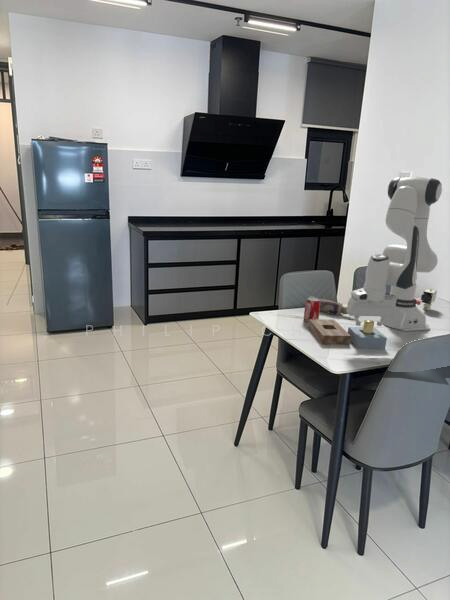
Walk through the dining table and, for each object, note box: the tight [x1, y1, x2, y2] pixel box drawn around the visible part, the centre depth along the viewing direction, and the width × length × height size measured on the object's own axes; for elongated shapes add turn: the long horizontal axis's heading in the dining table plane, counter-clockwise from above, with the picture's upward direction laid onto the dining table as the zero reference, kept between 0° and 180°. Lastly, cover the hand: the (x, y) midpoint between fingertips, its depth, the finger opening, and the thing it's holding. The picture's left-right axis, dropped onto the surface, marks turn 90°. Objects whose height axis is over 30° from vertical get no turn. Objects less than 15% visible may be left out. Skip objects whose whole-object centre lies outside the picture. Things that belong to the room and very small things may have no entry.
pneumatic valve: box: [420, 288, 438, 311], centre depth 244 cm, size 6×12×12 cm, turn 141°
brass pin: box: [362, 319, 375, 335], centre depth 187 cm, size 4×4×10 cm
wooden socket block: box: [307, 318, 351, 346], centre depth 194 cm, size 12×20×5 cm, turn 6°
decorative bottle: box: [309, 295, 349, 316], centre depth 228 cm, size 26×8×7 cm, turn 55°
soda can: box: [303, 296, 321, 324], centre depth 211 cm, size 7×7×12 cm
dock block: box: [347, 326, 388, 350], centre depth 188 cm, size 12×12×6 cm
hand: (368, 325), depth 186 cm, fingers open, 8 cm apart
